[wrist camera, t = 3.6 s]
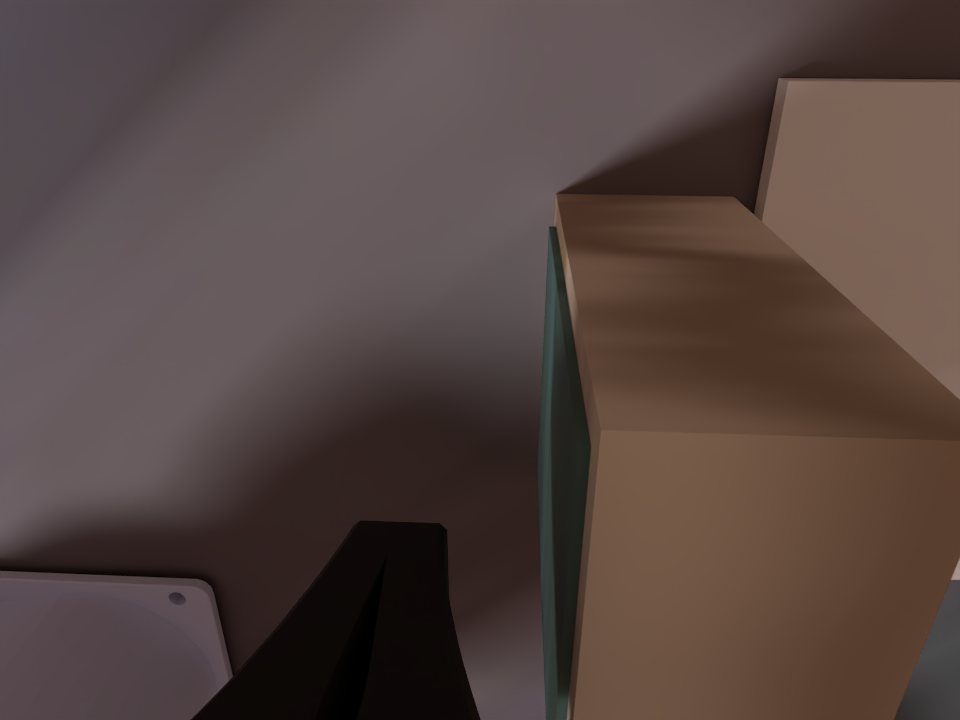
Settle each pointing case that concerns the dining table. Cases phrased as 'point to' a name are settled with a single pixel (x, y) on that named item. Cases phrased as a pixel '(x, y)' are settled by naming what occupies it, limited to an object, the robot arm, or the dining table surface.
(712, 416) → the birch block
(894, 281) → the beige mat
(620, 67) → the dining table surface
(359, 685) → the robot arm
